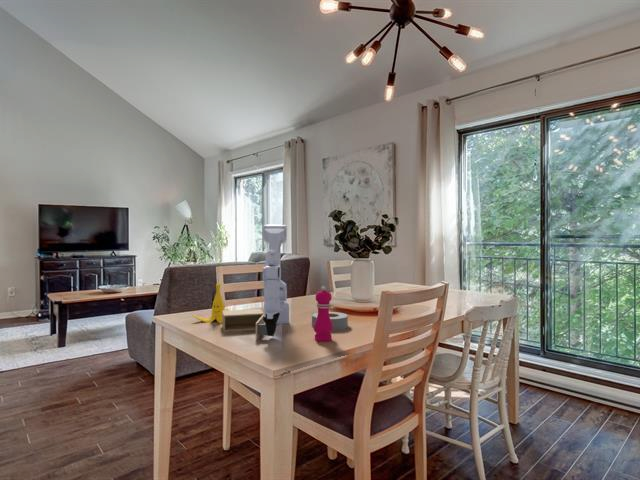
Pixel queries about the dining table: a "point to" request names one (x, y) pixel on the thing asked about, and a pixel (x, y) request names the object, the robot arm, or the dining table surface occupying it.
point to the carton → (240, 319)
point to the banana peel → (215, 308)
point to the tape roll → (334, 320)
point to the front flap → (261, 327)
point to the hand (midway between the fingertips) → (271, 334)
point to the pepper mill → (323, 316)
